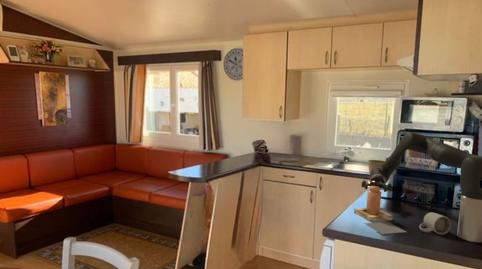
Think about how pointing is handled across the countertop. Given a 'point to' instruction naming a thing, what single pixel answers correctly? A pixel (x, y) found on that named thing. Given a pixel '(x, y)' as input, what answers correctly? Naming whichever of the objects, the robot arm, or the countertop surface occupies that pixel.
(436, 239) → the countertop surface
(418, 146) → the robot arm
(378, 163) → the plant pot
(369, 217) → the holder
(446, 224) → the ceramic mug
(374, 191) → the peach capped cylinder
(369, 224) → the mat
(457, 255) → the countertop surface
